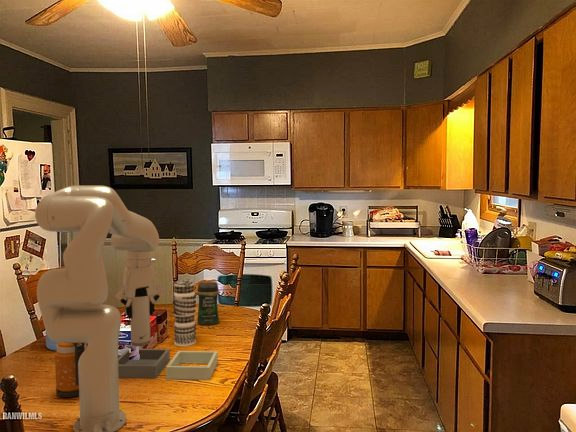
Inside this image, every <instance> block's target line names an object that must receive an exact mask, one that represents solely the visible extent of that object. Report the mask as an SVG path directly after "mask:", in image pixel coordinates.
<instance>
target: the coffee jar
mask: <svg viewBox="0 0 576 432" xmlns="http://www.w3.org/2000/svg"><path fill="white" fill-rule="evenodd" d="M218 284H219V283H218V282H216V281H215V282H200V283H198V286H197V291H196V293H197V294H196V295H197V296H198V307H197V308H198V310H197V317H196V318H197V324H198V325H199V326H207V325H208V326H209V325H210V326H211V325H216V324H218V323H219V322H220V319H219V317H220V316H219V307H218V296H219V291H220V290H219V285H218Z"/></svg>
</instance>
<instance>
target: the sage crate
mask: <svg viewBox="0 0 576 432" xmlns="http://www.w3.org/2000/svg"><path fill="white" fill-rule="evenodd" d="M218 354H219V353H218V351H216V350H215V351H211V350H203V351H202V350H200V351H199V350H177V352H176V353H175V354H174V356H173V357H172V358H171V359H170V361H169V362H168V363H167V365H166V366H165V370H166V371H165V372H166V374H165V375H166V380H190V381H191V380H196V381H197V380H201V381H203V380H205V381H207V380H209V381H210V379H211V378H212V376H213V374H214V371H215V370H216V367H217V365H218V363H219V362H218V361H219V359H218V358H219V355H218ZM181 364H207V365H206V366H205V365H203V366H202V365H201V366H200V365H181Z"/></svg>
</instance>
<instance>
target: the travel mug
mask: <svg viewBox="0 0 576 432" xmlns="http://www.w3.org/2000/svg"><path fill="white" fill-rule="evenodd" d="M146 288H149V287H148V286H147V287H144V288H139V289H136V291H135V297H134V298H132V301H131V303H130V306H131V312H132V318H130V345H132V346H134V347H143V346H144V347H145V346H147V345H149V344H151V315H150V298H149V296H148V294H147V290H146Z"/></svg>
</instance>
